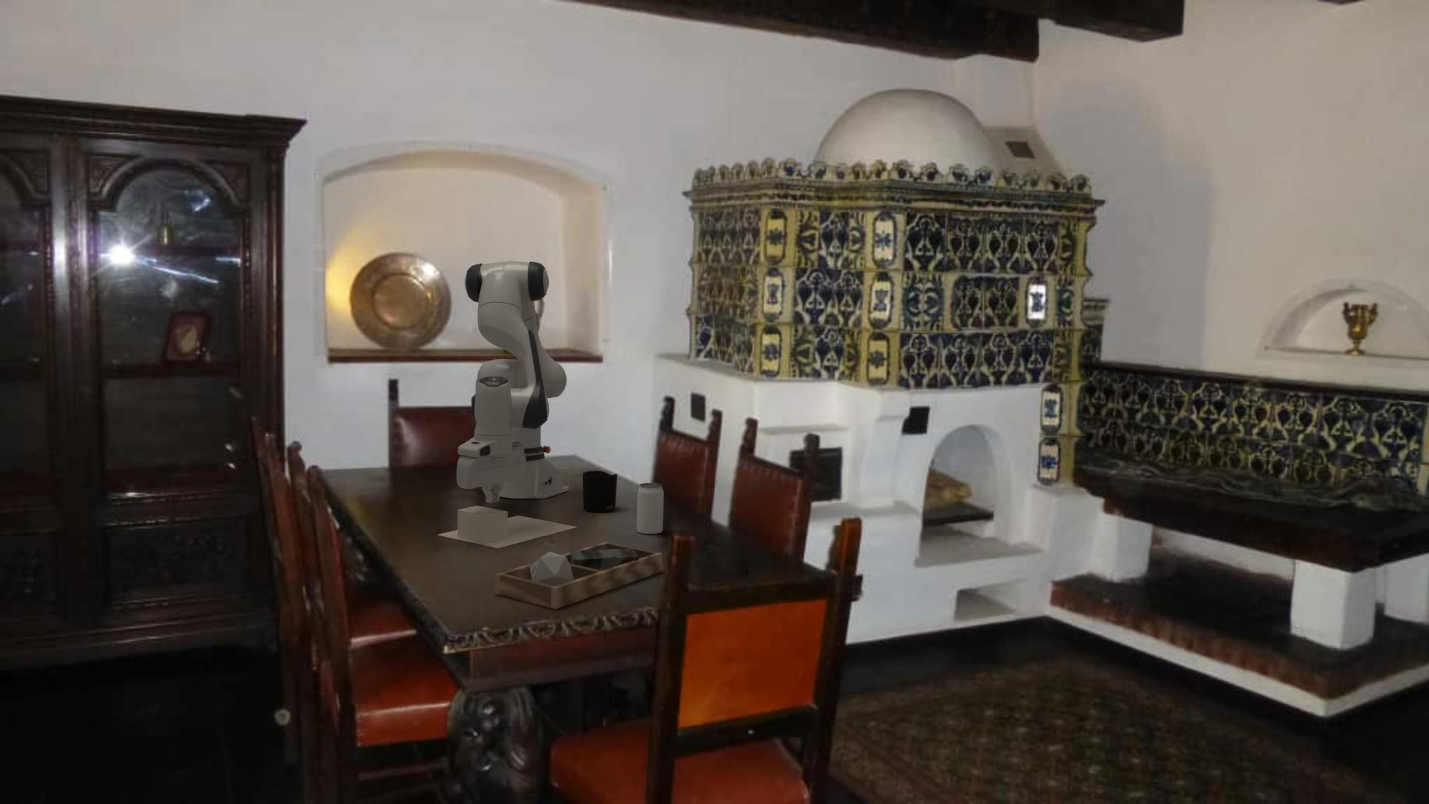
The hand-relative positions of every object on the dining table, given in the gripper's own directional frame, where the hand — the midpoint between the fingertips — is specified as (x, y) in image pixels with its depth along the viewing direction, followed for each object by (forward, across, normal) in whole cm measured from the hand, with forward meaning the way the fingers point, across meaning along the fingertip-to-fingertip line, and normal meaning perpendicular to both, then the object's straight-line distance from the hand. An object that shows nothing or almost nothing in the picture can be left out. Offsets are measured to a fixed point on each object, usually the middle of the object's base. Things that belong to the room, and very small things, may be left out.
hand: (492, 501), depth 258 cm
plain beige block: (+2, +3, 0) cm, 4 cm away
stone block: (+9, +9, +42) cm, 44 cm away
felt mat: (+8, -6, 0) cm, 10 cm away
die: (+9, +26, +42) cm, 50 cm away
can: (+9, -29, +26) cm, 40 cm away
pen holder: (+9, -41, 0) cm, 42 cm away
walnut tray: (+8, +16, +42) cm, 46 cm away
